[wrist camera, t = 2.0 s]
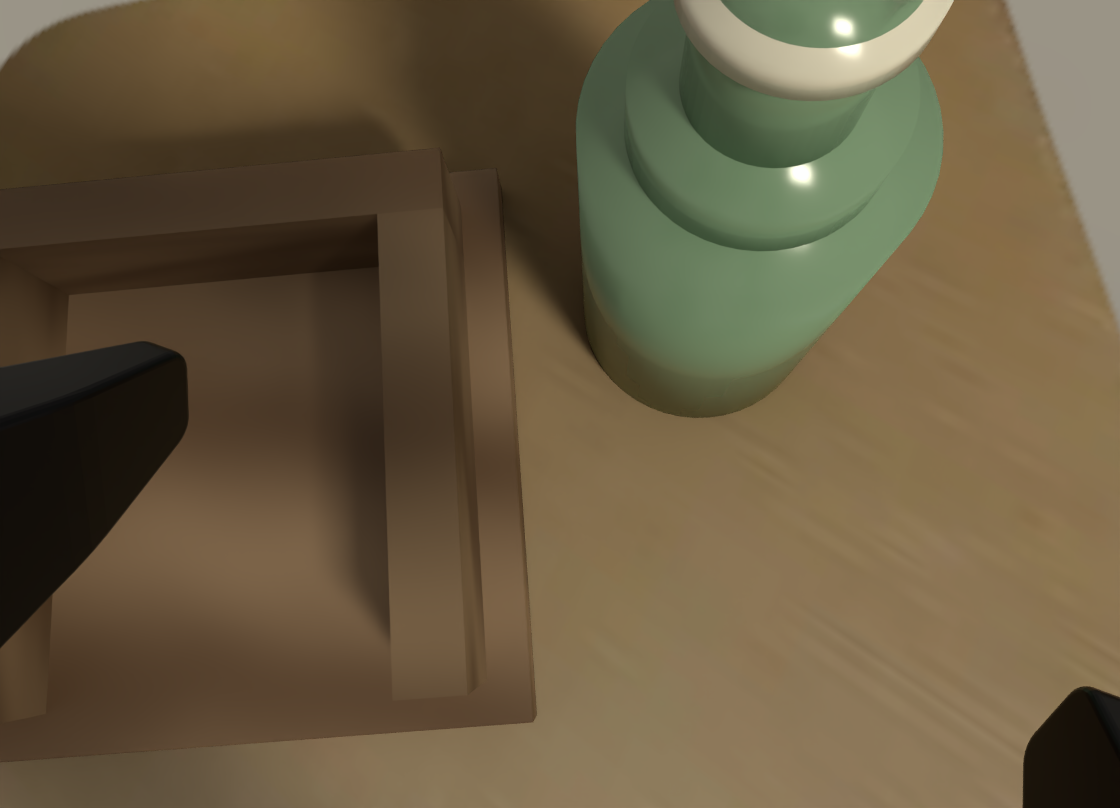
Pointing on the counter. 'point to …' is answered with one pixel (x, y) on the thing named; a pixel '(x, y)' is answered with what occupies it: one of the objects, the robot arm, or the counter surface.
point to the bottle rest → (283, 458)
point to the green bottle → (746, 184)
